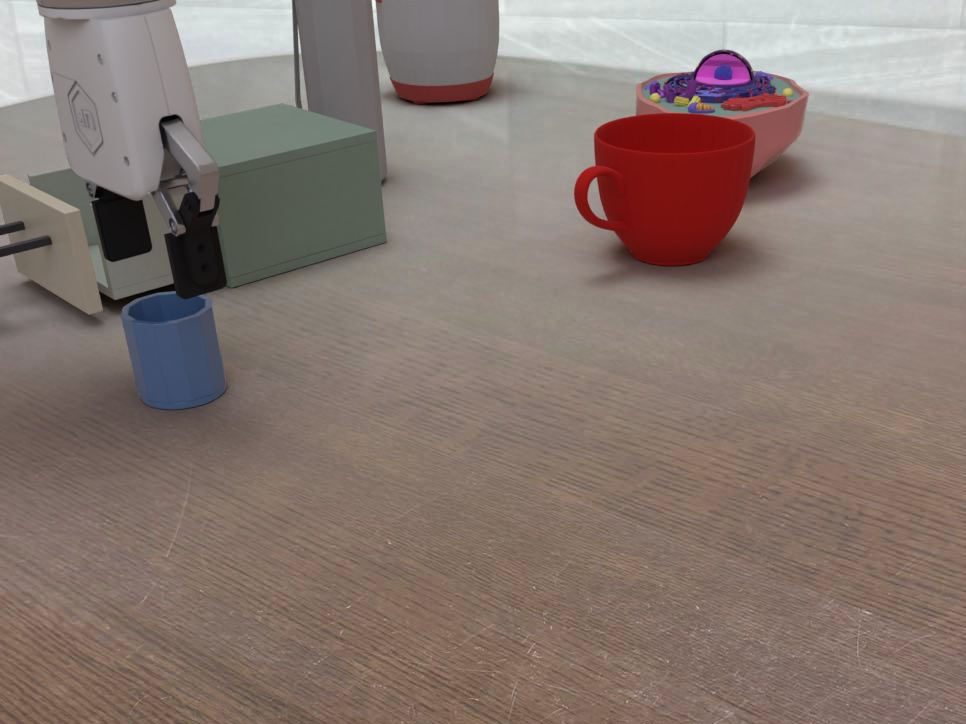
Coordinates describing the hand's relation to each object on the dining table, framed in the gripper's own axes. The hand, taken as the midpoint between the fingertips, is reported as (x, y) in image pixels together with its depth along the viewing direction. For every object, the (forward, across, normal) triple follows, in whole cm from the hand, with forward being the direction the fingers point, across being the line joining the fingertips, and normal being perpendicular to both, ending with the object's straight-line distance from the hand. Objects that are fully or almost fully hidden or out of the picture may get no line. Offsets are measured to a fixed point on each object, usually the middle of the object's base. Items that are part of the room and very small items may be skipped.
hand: (164, 273), depth 77 cm
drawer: (+7, -22, +5) cm, 24 cm away
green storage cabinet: (+8, -22, +20) cm, 31 cm away
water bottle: (+8, -33, +36) cm, 50 cm away
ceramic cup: (+9, +5, +41) cm, 42 cm away
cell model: (+9, -7, +63) cm, 64 cm away
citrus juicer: (+8, -56, +66) cm, 87 cm away
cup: (+8, 0, 0) cm, 8 cm away
